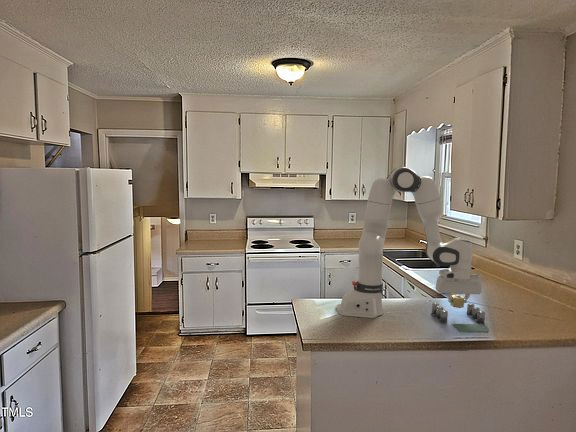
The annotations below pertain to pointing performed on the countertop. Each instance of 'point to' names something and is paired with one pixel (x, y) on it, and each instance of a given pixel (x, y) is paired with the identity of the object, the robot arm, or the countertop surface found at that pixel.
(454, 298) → the brass nut
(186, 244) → the countertop surface
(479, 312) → the spacer rows
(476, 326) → the rubber mat
